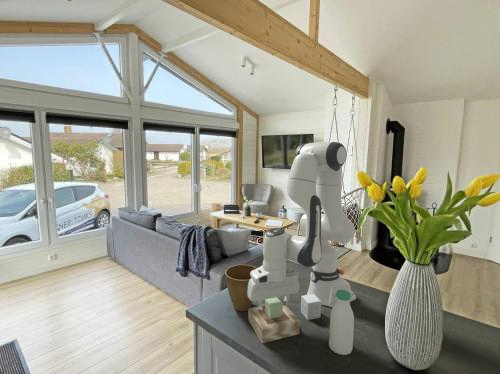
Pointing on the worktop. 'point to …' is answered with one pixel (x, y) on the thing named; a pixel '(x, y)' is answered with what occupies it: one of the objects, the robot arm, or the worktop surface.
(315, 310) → the product box
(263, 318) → the birch plinth
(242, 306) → the plant pot
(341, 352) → the milk bottle
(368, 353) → the worktop surface
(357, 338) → the worktop surface
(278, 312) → the sage block
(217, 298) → the worktop surface
